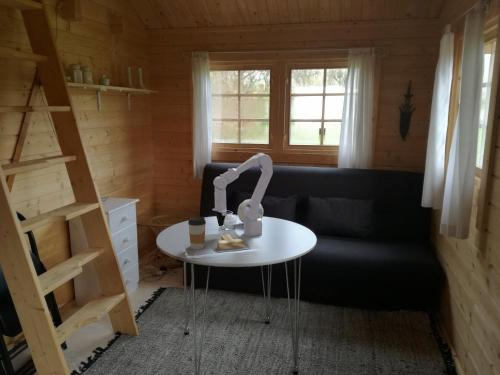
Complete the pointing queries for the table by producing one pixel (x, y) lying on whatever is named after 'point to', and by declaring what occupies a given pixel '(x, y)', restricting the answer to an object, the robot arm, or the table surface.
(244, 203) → the puzzle ball
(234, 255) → the table surface
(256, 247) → the table surface
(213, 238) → the slate board
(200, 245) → the coffee cup
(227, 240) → the t block
